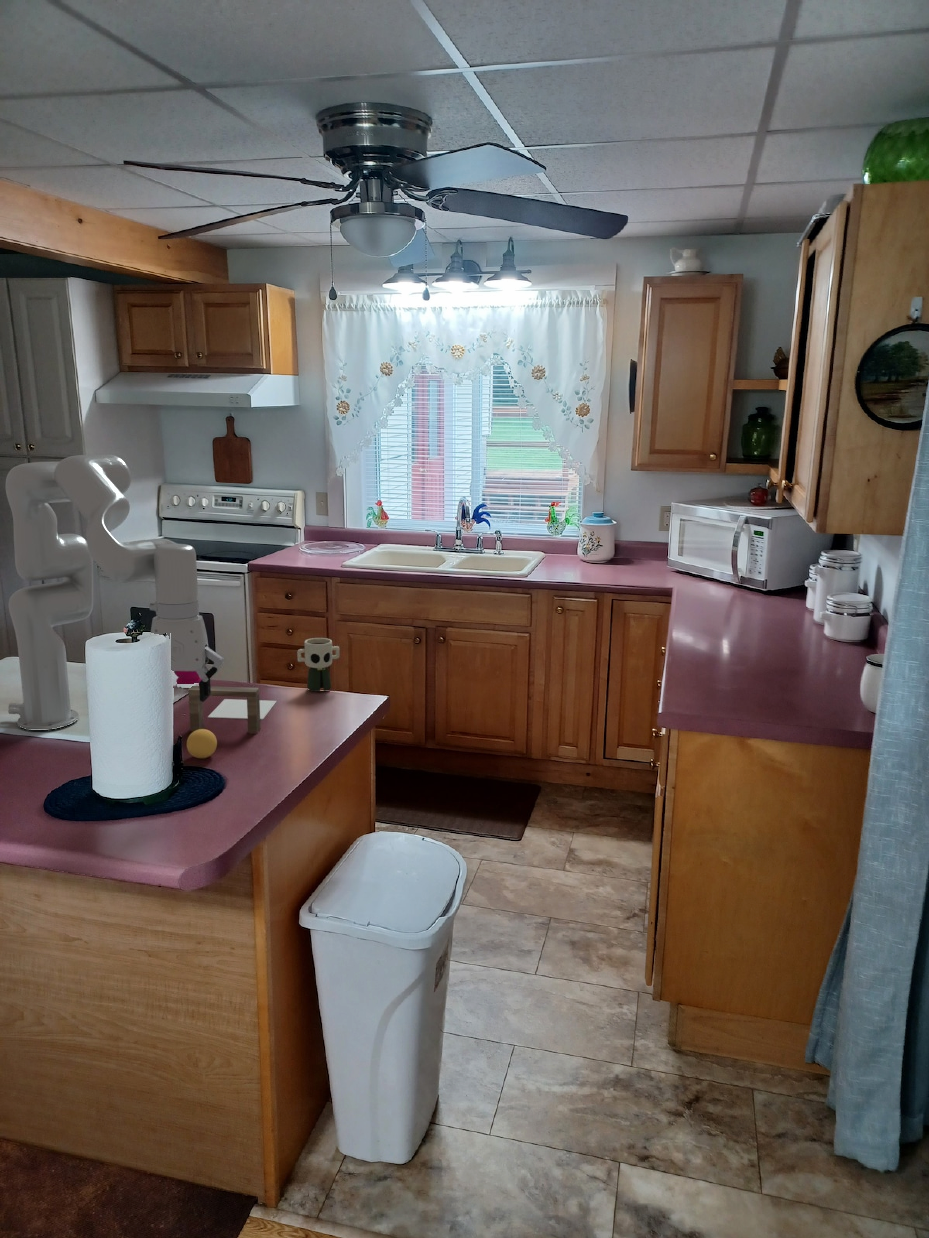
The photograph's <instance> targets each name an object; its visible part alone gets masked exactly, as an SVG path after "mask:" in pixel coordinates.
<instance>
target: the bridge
mask: <svg viewBox="0 0 929 1238" xmlns="http://www.w3.org/2000/svg"><path fill="white" fill-rule="evenodd" d="M210 686H211V685H210ZM187 691H188V707H189V726H190V729H189V730H190V732H194V731H196V730H199V729H204V727H205V723H204V708H203V707H204V706H203V705H204V704H203V702H201V701H200V691H199V686H192V687H191V688H190V689H187ZM211 696H212V697H214V696H215V697H231V698H232V697H233V698H234V697H235V698H236V697H237V698H246V700H247V716H248V719H247V734H258V733H259V732H260V730H261V719H260V700H261V699H260V688H259V687H245V686H244V687H242V686H239V687H238V686H215V685H213V686H211V694H210V696H209V697H211Z"/></svg>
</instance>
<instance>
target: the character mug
mask: <svg viewBox="0 0 929 1238" xmlns="http://www.w3.org/2000/svg"><path fill="white" fill-rule="evenodd" d="M333 651H335V655H333ZM303 653H304V657H302V654H303ZM296 654H297V662H299V663H302V662H304V663H305V665H306V666H307V667H309V669H308V673H307V682H306V688H307V689H308V691H312V692H321V689H322V690H323V691H324V692H325V691H329V690H331V688H332V683H331V682H332V680H331V673H330V668H329V667H330V666H331V665H332V663H333V660H338V659H339V658H340V646H338V645H336V646H335V645H334V646H333V641H332V639H330V638H327V637H326V638H325V637H314V638H313V637H312V638H308V639H305V640H304V648H300V649H298V650H297V651H296Z"/></svg>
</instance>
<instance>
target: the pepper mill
mask: <svg viewBox="0 0 929 1238" xmlns="http://www.w3.org/2000/svg"><path fill="white" fill-rule="evenodd" d="M173 673H174V675H175V676H176V677H177V678H176V680H175V681H176V682H177V684H194V683H199V682H200V681H201V678H200V676H199V675H198V673H197V672H196V671H173ZM177 684H176V685H177Z"/></svg>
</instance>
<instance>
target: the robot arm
mask: <svg viewBox="0 0 929 1238" xmlns="http://www.w3.org/2000/svg"><path fill="white" fill-rule="evenodd" d="M131 474H132V473H131V470H130V468H129V466H128V465H127V463H126V462H125V461H124V460H123V459H122V458H120V457H119V456H117V455H114V454H109V453H108V454H104V453H103V454H78V455H72V456H67V457H65V458H63V459H61V460H60V461H37V462H36V461H35V462H28V463H22V464H18V465H16V466H14V467H12V468H11V469H10V470H9V471H8V473H7V475H6V477H5V478H6V479H5V493H6V498H7V501H8V504H9V507H10V511H11V514H12V519H13V520H12V521H13V544H14V545H13V546H14V547H13V548H14V563H15V569H16V573H17V574H18V576H19V577H20V578H21V579H22V580H26V581H30V582H39V581H40V582H41V581H46V580H47V581H48V580H54V579H59V578H60V579H61V578H63V579H62V580H63V581H56V582H50V583H49V582H48V583H41V584H35V585H29V586H26V587H22V588H20V589H17V590H16V591H14V593H13V594H12V595H10V597H9V600H8V611H9V615H10V618H11V622H12V625H13V629H14V632H15V638H16V644H17V652H18V662H19V669H20V670H19V671H20V681H21V691H22V693H21V694H22V701H23V703H19V702H10V703H9V704H8V708H7V709H8V710H7V711H8V714H10V715H16V714H17V715H19V718H18V719H17V726H18V725H19V726H21V727H23V728H26V729H52V728H57V727H60V726H66V725H68V724H70V723H71V722H74V721H75V720H76V719H78V717H79V718H80V716H79V713H78V711H76V710H74V709H71V697H70V686H69V685H70V684H69V674H68V661H67V653H66V651H67V650H66V646H65V643H64V640H62V638H61V636H60V635H58V634H57V633H56V632H55V630H54V628H53V627H58V626H60V625H61V626H62V625H66V624H71V623H75V622H79V621H83V620H86V619H87V618H89V616H91V614H92V611H93V608H94V562H95V564H96V565H97V567H99V568H100V569H101V571H102V572H103V573H104V574H105V575H106V576H107V577H109V579H110V580H113V581H114V582H116V583H119V584H130V583H136V582H140V581H148V580H154V582H155V583H154V586H155V600H156V601H154V602H153V603H151V602H150V603H149V605H148V606H149V607H148V608H149V611H153V612H155V615H156V616H154V617H153V618H152V619H151V620H152V622H151V627H150V634H151V633H154V634H159V635H163V634H165V633H167V634H166V636H167V635H168V636H169V639H170V633H171V670H172V671H171V672H174V671H196V672H197V673H198V675H199V677H200V678H201V681H200V682H199V691H200V701H201V702H206V700H207V699H209V698H210V697H211V696H210V694H211V678H213V676H214V675H215V674H216V673H217V672H218V671H219V670H220V668H221V667H222V665H223V664H224V663H225V658H224V657H222V656H221V655H220V654H218V653H217V652H215V651H214V650H213V649H212V648H210V647H209V641H208V634H207V629H206V625H205V621H204V618H203V615H200V609H199V586H198V570H197V569H198V568H197V567H198V566H197V554H196V549H195V548H194V547H193V546H192V545H190V544H187V543H186V544H185V543H177V542H175V541H172V540H171V539H168V538H151V539H140V540H133V541H126V542H119V541H118V540H117V539H115V537H114V536H113V535H112V534H111V533H112V531H113V530H115V529H117V528H118V527H119V526H120V525H122V523H124V521H125V520H126V519H127V517H128V515H129V513H130V509H131V508H130V506H131V504H130V502H129V500H128V498H127V497H126V496H125V495H124V494H125V493H127V492H128V490H129V489H130V487H131V484H132V476H131ZM69 502H71V503H72V504H73V505H74V507H75V508H76V509H77V510H78V511H79V512H80V513H81V515H82V516H83V517H84V519H85V520H86V521H87V522H88V523H87V526H86V532H85V535H86V536H85V537H86V539H85V538H84V536H82V535H79V534H76V533H62V534H61V533H58V517H57V515H56V513H55V511H54V510H53V508H52V506H51V505H50V504H52V503H54V504H55V503H69ZM209 660H211V661H212V662H213V665H212V666H211V668H209V667H208V663H209V662H210V661H209ZM78 720H79V719H78ZM19 726H18V727H19Z"/></svg>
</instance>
